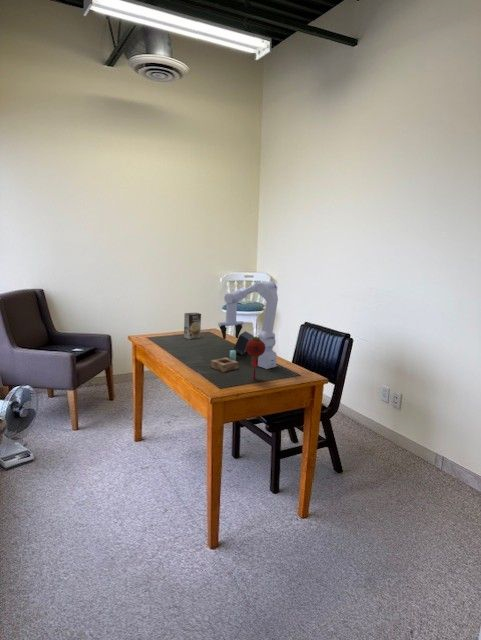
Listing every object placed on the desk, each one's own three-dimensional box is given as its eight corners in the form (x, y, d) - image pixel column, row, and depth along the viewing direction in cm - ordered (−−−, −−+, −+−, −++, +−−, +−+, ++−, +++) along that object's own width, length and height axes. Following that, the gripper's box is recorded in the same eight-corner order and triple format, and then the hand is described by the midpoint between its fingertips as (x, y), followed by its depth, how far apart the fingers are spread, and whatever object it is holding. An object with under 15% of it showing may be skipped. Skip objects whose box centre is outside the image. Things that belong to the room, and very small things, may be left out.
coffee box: (189, 339, 272) (189, 314, 269) (183, 337, 277) (183, 313, 274) (200, 337, 278) (201, 313, 275) (195, 335, 283) (195, 312, 280)
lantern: (243, 375, 206) (245, 314, 200) (262, 375, 207) (265, 315, 201) (244, 381, 197) (247, 318, 191) (265, 381, 198) (268, 318, 192)
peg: (236, 363, 224) (237, 351, 222) (232, 364, 222) (232, 352, 220) (232, 362, 226) (233, 349, 225) (228, 363, 224) (228, 350, 223)
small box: (242, 355, 240) (249, 339, 237) (232, 350, 241) (239, 334, 238) (248, 351, 250) (254, 335, 247) (238, 346, 251) (244, 330, 248)
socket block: (238, 368, 216) (238, 361, 215) (223, 372, 209) (223, 365, 209) (225, 363, 223) (225, 357, 223) (210, 366, 217) (210, 360, 216)
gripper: (240, 312, 242) (239, 335, 244) (216, 313, 235) (215, 337, 238) (245, 314, 235) (244, 338, 238) (221, 315, 229) (220, 340, 232)
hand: (230, 338), depth 238 cm, fingers open, 7 cm apart
